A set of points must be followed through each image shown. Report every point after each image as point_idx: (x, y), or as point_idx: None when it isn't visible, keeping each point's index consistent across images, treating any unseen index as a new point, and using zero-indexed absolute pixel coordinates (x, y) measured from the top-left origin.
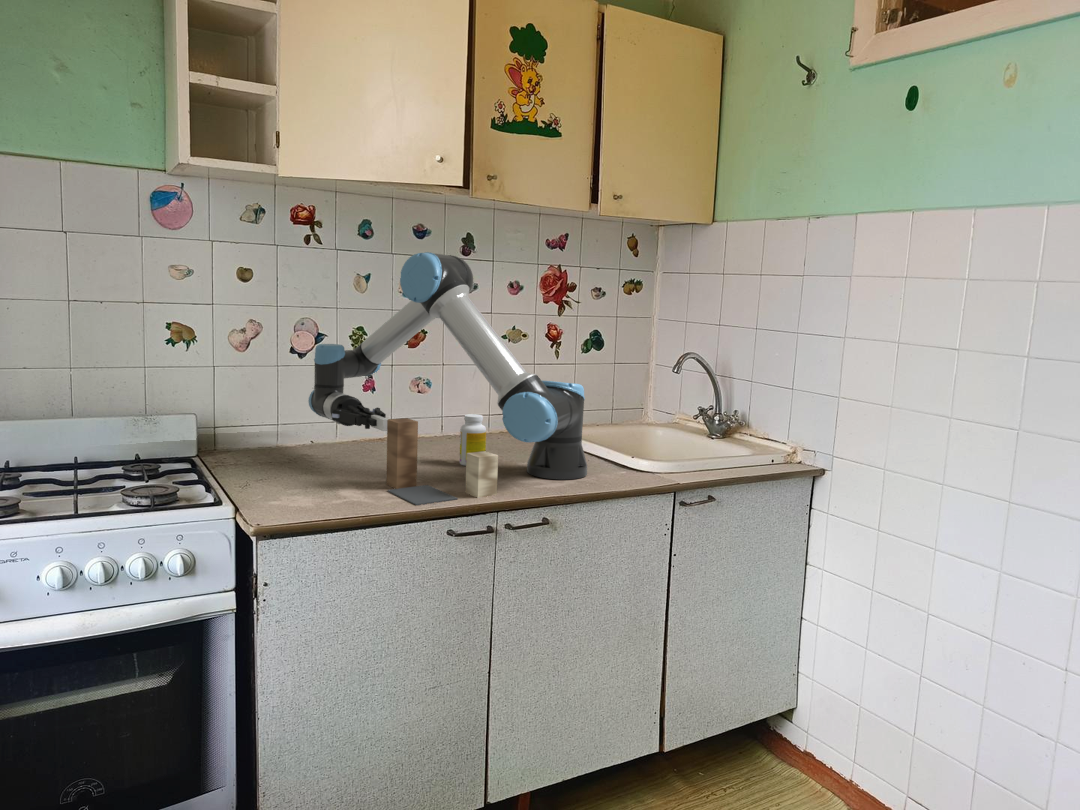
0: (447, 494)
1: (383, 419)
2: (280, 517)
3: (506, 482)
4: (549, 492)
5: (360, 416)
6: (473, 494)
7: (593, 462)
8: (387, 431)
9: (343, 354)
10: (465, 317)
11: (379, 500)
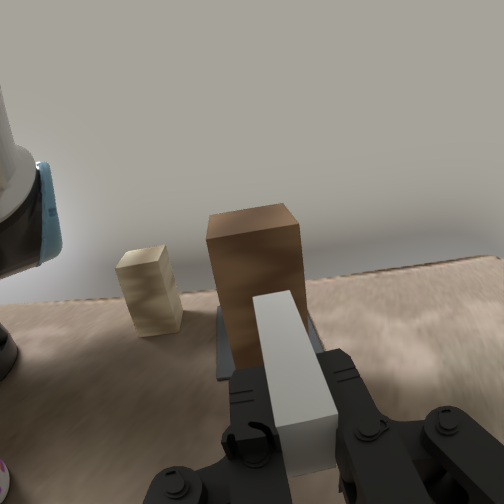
0: (220, 321)
1: (286, 294)
2: (487, 271)
3: (69, 359)
4: (81, 311)
5: (434, 412)
6: (181, 314)
7: None
8: (303, 268)
9: None
10: None
11: (354, 317)
